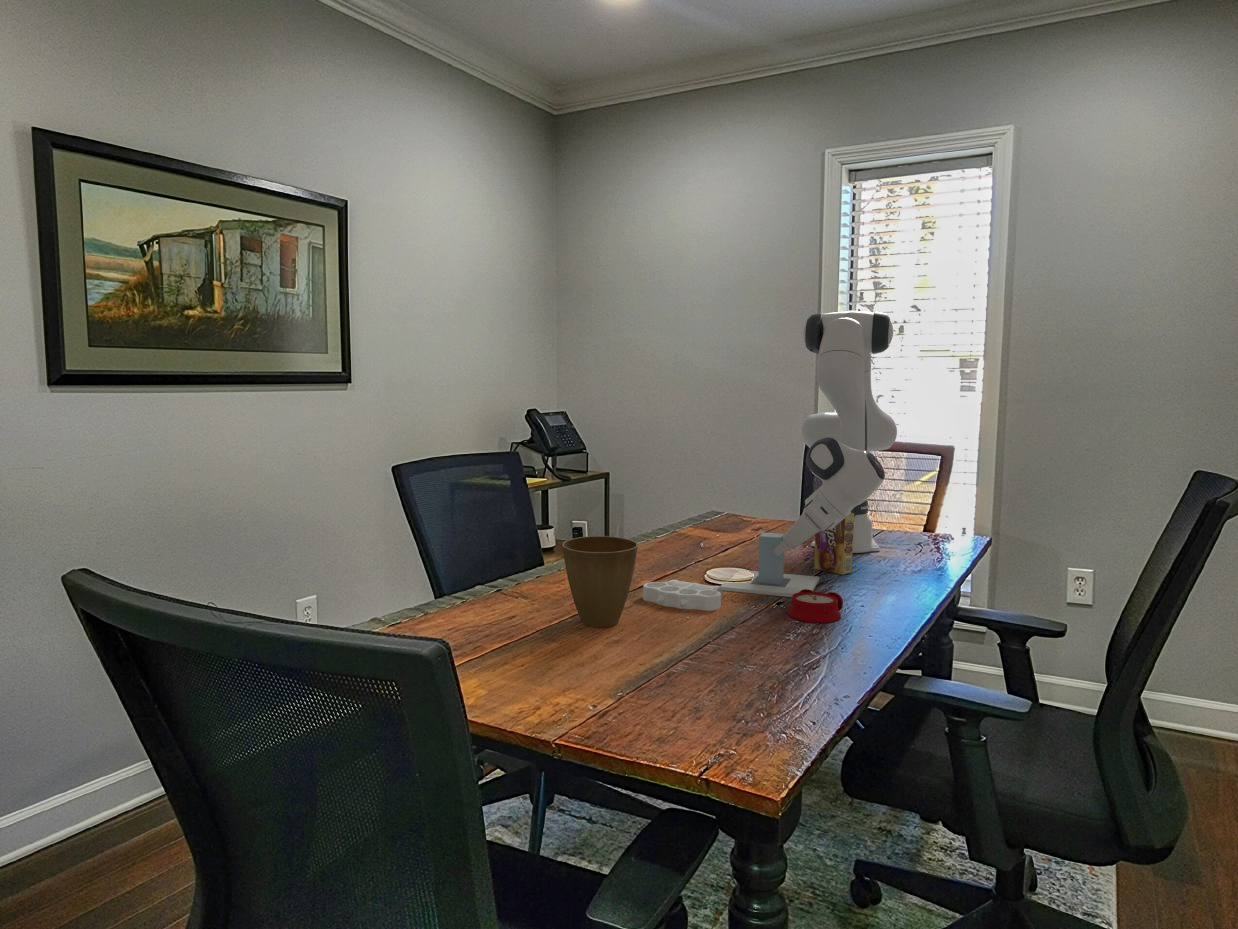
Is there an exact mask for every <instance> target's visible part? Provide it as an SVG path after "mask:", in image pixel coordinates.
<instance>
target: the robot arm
mask: <svg viewBox="0 0 1238 929" xmlns="http://www.w3.org/2000/svg"><path fill="white" fill-rule="evenodd" d="M893 327H894V326H893V323H892V321H891V317H890V316H889V315H888V314H887V313H884V312H880V311H874V312H871V311H862V310H861V311H859V310H848V311H836V312H834V311H833V312H828V313H824V312H819V313H814V314H811V315H810V316H809V317H808V318H807V319H806V322H805V325H804V327H803V334H802V335H803V342H804V343H805V347H806V349H807V350H808V351H810V353H815V354H818V355H817V365H816V378H817V385H818V387H819V389H820V391H821V392H822V393H823V395H824V396H825V397H826V398H827V400H828V401H829V403H830V404H831V405H832V407H833V408H834V411H825V412H820V413H819V412H818V413H813V414H809V415H808V416H807V417H806V418H805V420H804V422H803V423H802V426H801V437H802V440H803V442H804V443H805V445H806V446H807V447H808V448H809V449H808V451H807V454H806V458H805V459H806V460H805V462H806V467H807V468H808V470H809V471H810V472H811V473H812V474H813V475H814V476H816V477H817V478H819V479H820V480H821V481H822V485H821V486H819V487H818V488H817V489H816V490H814V492H813V493H812V494H810V495H809V497H807V498H806V499H805V500H804V503H805V505H804V508H803V509H802V511H803V512H802V514H800V516H799V518H797V519H796V520H795V522H794V523H793V524H792V525H791V526H790V527H789V528H788V530H787V531H786V532H785V533H784V536H783V539H784V540H783V541H782V542H781V543H780V544H779V545H778V546H777V547H776V548H775V549H774V552H775V554H776V555H778V556H779V555H780V554H782V553H783V552H784V553H785V551H786V550H789V549H790V548H791V549H796V548H797V547H799V546H801V545H802V544H803V543H805V542H807V541H808V540H809V539H811V538H812V537H814V536H815V534H816V533H818V532H819V531H821V530H822V531H824V530H826V529H833V528H834V527H835V526H836V525H837V524H839V523H840V522H841V521H842V520H843V519H844V518H845V517H847V516H848V515H849V513H854V530H853V554H858V553H859V554H860V553H869V552H879V551H880V546H879V545H878V543H877V541H876V540H875V539H874V537H875V534H874V532H873V527H874V526H873V524H874V523H873V521H872V519H871V518H870V517H869V516H868V513H869V500H867V499H868V498H870V497H871V496H872V495H873V494H874V493H875V492H876V491H877V490H878V489H879V487H880V486H881V485H882V483H883V482H884V480H885V478H886V474H885V470H884V467H883V466H882V464H881V462H880V461H879V460H878V459H877V457H876V456H875V455H873V453H872V452H879V451H886V450H889V449H890V448H891V447H892V446H893V445H894V443H895V441H896V439H897V437H898V436H897V435H898V430H897V429H898V427H897V424H896V422H895V420H894V419H893V417H891V416H890V415H889V414H887V413H886V412H884V411H883V410H882V409H881V408H880V407H879V405H878V403H876V401H875V398H874V395H873V391H872V355H875V354H881V353H883V352H885V351H886V350H887V349H889V346H890V344H891V342H892V340H893V336H894V328H893ZM871 354H872V355H871ZM810 546H812V547H814V548H815V540H813V541H812V542H811V544H810Z"/></svg>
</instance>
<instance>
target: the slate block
mask: <svg viewBox="0 0 1238 929" xmlns="http://www.w3.org/2000/svg"><path fill="white" fill-rule="evenodd" d="M784 535H785V533H778V532H762V533H761V534H760V535H758V536H759V537H758V567H757V568H758V570H757V571H758V583H768V584H779V585H780V583H781V582H782V581H783V576H784V574H785V573H784V571H785V570H784V569H785V568H784V567H785V551H784V552H783V553H782V554H780V555H779V556H778V555H776V554H775V552H774V549H775V548H776V547H777V546H778V545H779V544H780V543H781V542H782V541H783V540H784V539H783V536H784Z"/></svg>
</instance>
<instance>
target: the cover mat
mask: <svg viewBox="0 0 1238 929" xmlns="http://www.w3.org/2000/svg"><path fill="white" fill-rule="evenodd" d="M746 571H749V572H751V573H753V574H754V578H753V580H752V581H750V582H746V583H724V582H723V583H722V584H721V585H719V587H721V588H722V589H723V591H726V592H736V593H745V594H756V595H757V594H758V595H767V596H778V597H788V598H792V595H793V594H795V593H799V592H800V591H801V590H804V589H809V590H812V591H813V592H814V591H815V590H814V589H815V588H816V586H817V584H819V581H820V576H814V575H804V574H802V575H801V574H794V573H793V574H791V573H784V576H783V581H782V582H781V583H780V585H779V584H768V583H758V570H746Z"/></svg>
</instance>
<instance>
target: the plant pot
mask: <svg viewBox="0 0 1238 929" xmlns="http://www.w3.org/2000/svg"><path fill="white" fill-rule="evenodd" d="M638 543H639V542H637V541H635V540H632V539H630V538H626V537H618V536H609V535H592V536H591V535H590V536H588V535H587V536H580V537H575V538H570V539H567V540H565V541H563V542H562V544H561V545H562V553H563V559H564V565H565V571H566V575H567V580H568V584H569V588H570V589H569V590H570V592H571V596H572V599H573V603H574V606H575V609H576V612H577V614H578V617H579V620H580V622H581V624H582V625H585V626H587V627H590V628H609V627H613V626H615V625H617V624H618V623H619V621H620V618H621V616H622V614H623V611H624V608H625V605H626V602H627V599H628V595H629V592H630V589H631V584H632V580H633V576H634V572H635V567H636V561H637V555H638V554H637V553H638V547H639V544H638Z"/></svg>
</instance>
